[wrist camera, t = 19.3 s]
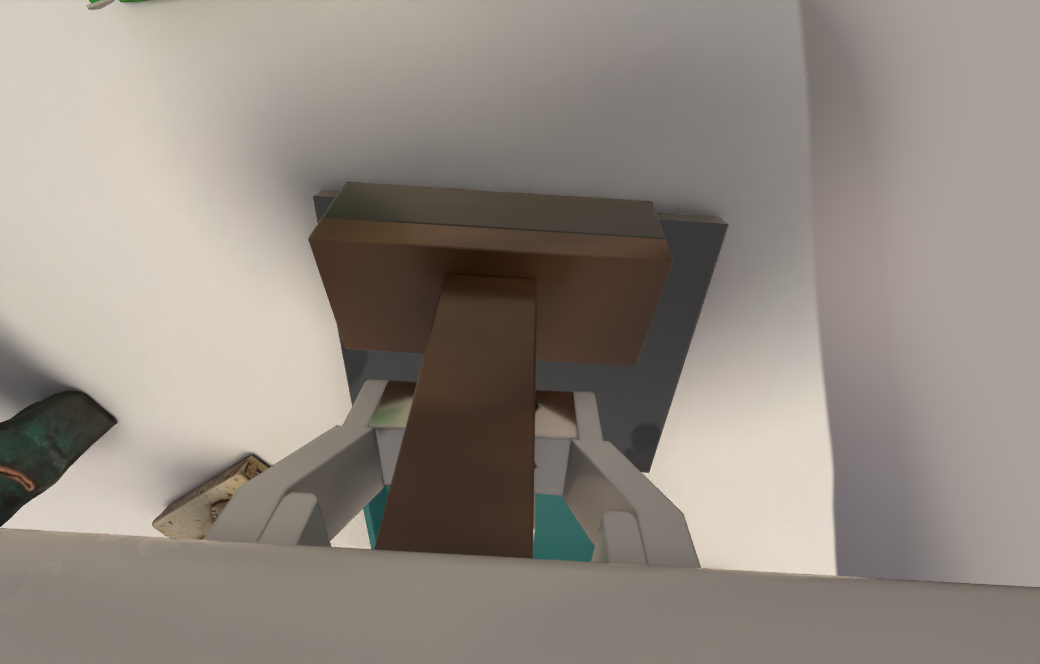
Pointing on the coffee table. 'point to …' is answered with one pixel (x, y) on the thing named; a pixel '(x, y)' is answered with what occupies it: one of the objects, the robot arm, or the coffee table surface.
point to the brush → (483, 334)
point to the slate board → (618, 389)
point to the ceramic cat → (45, 445)
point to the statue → (205, 502)
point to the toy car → (105, 3)
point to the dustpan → (553, 528)
